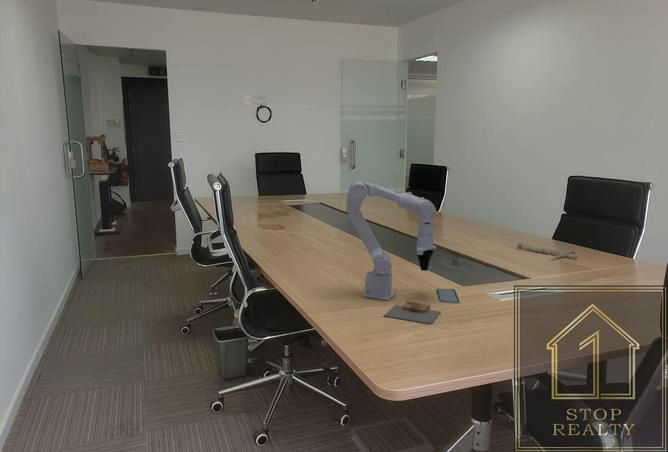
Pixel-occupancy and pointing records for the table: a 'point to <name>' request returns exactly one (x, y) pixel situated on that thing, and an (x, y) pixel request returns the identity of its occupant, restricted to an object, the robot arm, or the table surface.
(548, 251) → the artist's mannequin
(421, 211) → the robot arm
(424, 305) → the brown wooden block
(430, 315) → the mat
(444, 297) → the smartphone
